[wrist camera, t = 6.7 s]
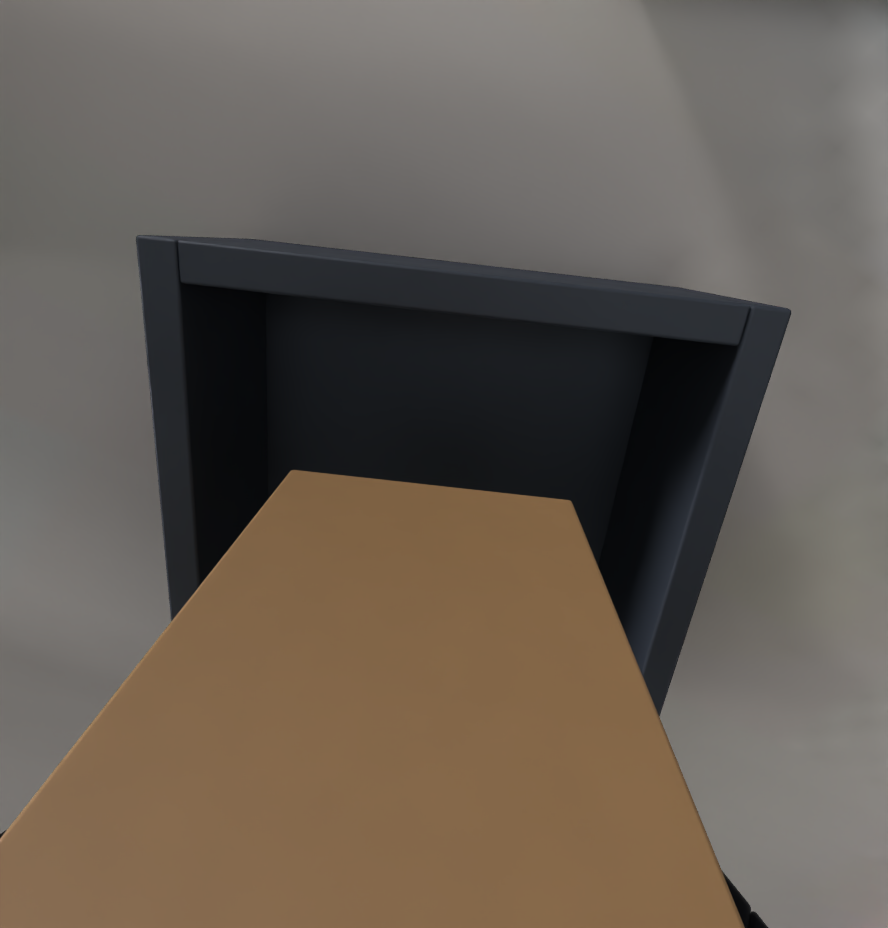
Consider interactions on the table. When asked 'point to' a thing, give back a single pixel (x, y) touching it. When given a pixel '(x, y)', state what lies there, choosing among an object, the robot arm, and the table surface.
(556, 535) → the carton
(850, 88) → the table surface
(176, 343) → the basin
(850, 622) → the table surface
